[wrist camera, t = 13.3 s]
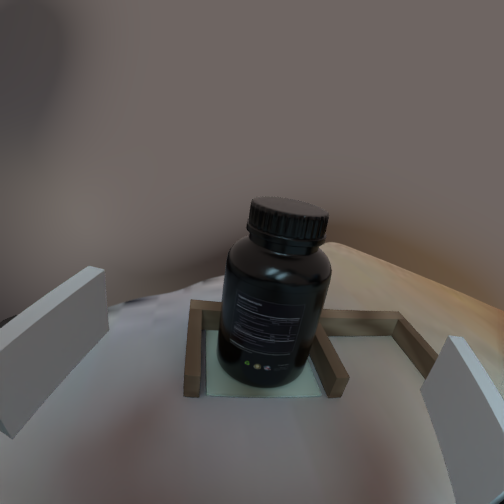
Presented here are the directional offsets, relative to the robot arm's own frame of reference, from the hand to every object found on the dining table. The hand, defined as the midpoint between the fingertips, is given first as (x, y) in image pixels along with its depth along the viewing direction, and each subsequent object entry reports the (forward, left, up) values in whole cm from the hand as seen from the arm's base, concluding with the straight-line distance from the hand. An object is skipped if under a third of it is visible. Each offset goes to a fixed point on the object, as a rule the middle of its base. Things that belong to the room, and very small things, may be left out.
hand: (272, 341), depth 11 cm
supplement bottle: (-2, -10, -9) cm, 14 cm away
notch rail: (-7, -10, -9) cm, 16 cm away
